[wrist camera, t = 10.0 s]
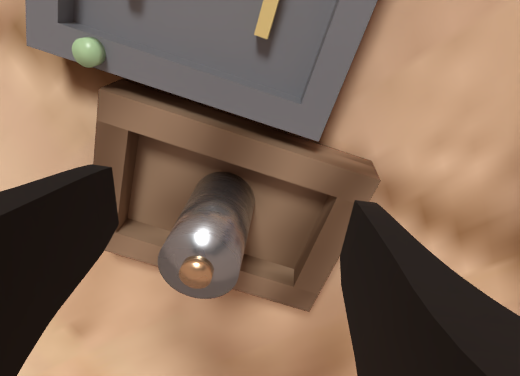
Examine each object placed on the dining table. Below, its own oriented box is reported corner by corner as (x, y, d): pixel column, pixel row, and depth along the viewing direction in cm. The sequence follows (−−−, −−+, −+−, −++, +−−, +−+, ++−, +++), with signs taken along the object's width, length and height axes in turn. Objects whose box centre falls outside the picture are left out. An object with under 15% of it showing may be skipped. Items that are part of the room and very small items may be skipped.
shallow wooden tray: (371, 161, 19) (380, 180, 17) (308, 284, 24) (309, 312, 22) (121, 78, 18) (98, 88, 16) (106, 223, 23) (87, 245, 21)
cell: (251, 170, 19) (230, 240, 14) (257, 224, 21) (242, 307, 15) (188, 173, 20) (143, 242, 14) (200, 225, 21) (164, 306, 16)
